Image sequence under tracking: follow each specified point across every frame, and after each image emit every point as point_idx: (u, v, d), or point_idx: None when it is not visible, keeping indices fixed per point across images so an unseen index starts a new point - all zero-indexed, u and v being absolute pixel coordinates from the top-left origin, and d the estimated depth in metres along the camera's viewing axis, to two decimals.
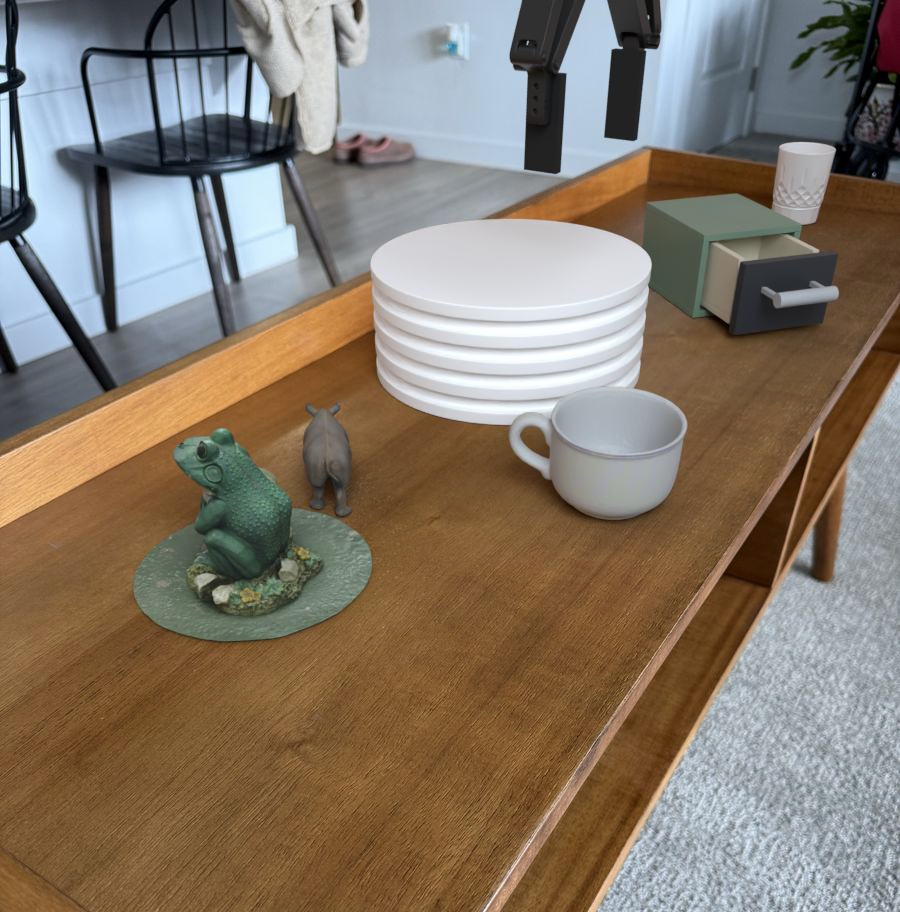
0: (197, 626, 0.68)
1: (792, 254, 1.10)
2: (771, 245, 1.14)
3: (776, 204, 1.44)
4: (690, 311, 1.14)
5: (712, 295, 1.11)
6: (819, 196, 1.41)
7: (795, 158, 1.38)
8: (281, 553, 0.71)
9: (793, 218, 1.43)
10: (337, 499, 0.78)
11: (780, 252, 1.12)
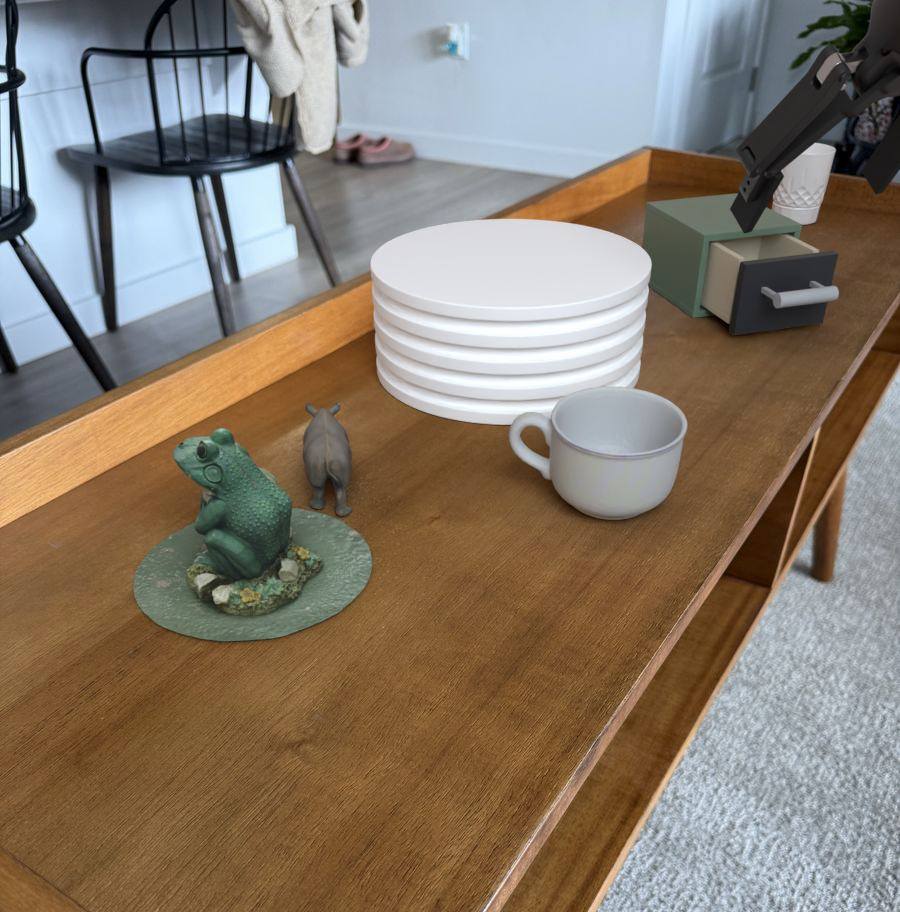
0: (197, 626, 0.68)
1: (792, 254, 1.10)
2: (771, 245, 1.14)
3: (776, 204, 1.44)
4: (690, 311, 1.14)
5: (712, 295, 1.11)
6: (819, 196, 1.41)
7: None
8: (281, 553, 0.71)
9: (793, 218, 1.43)
10: (337, 499, 0.78)
11: (780, 252, 1.12)
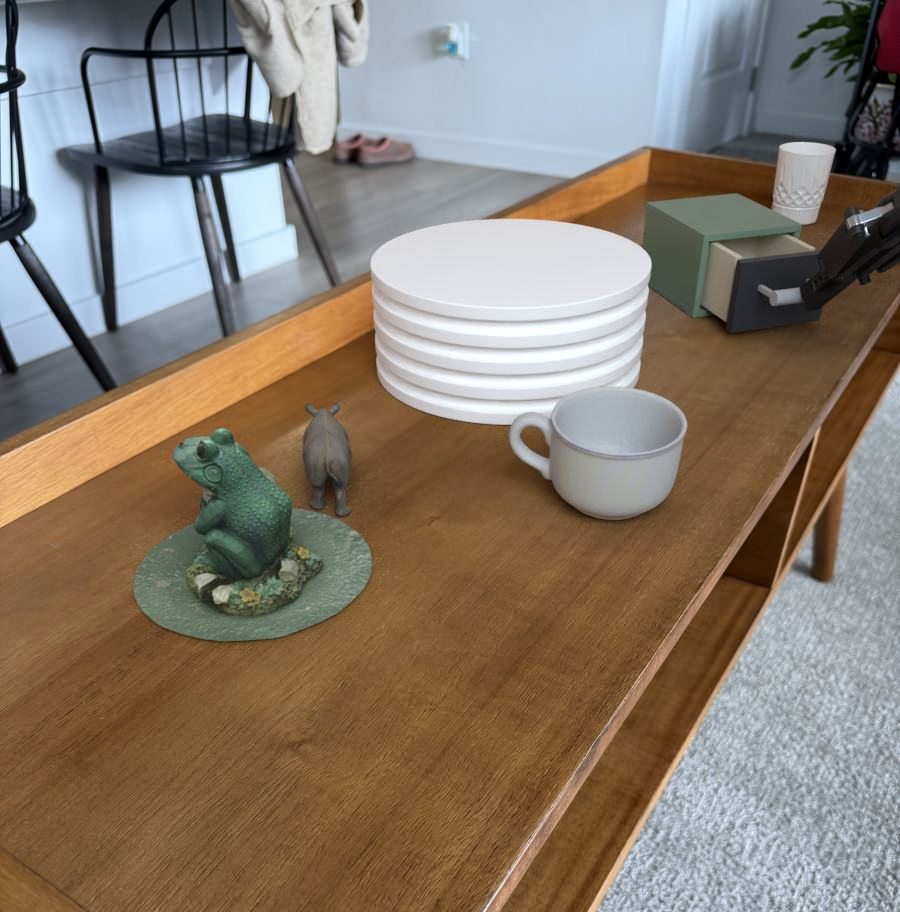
0: (197, 626, 0.68)
1: (788, 252, 1.11)
2: (768, 243, 1.14)
3: (776, 204, 1.44)
4: (690, 311, 1.14)
5: (709, 293, 1.12)
6: (819, 196, 1.41)
7: (795, 158, 1.38)
8: (281, 553, 0.71)
9: (793, 218, 1.43)
10: (337, 499, 0.78)
11: (777, 250, 1.13)
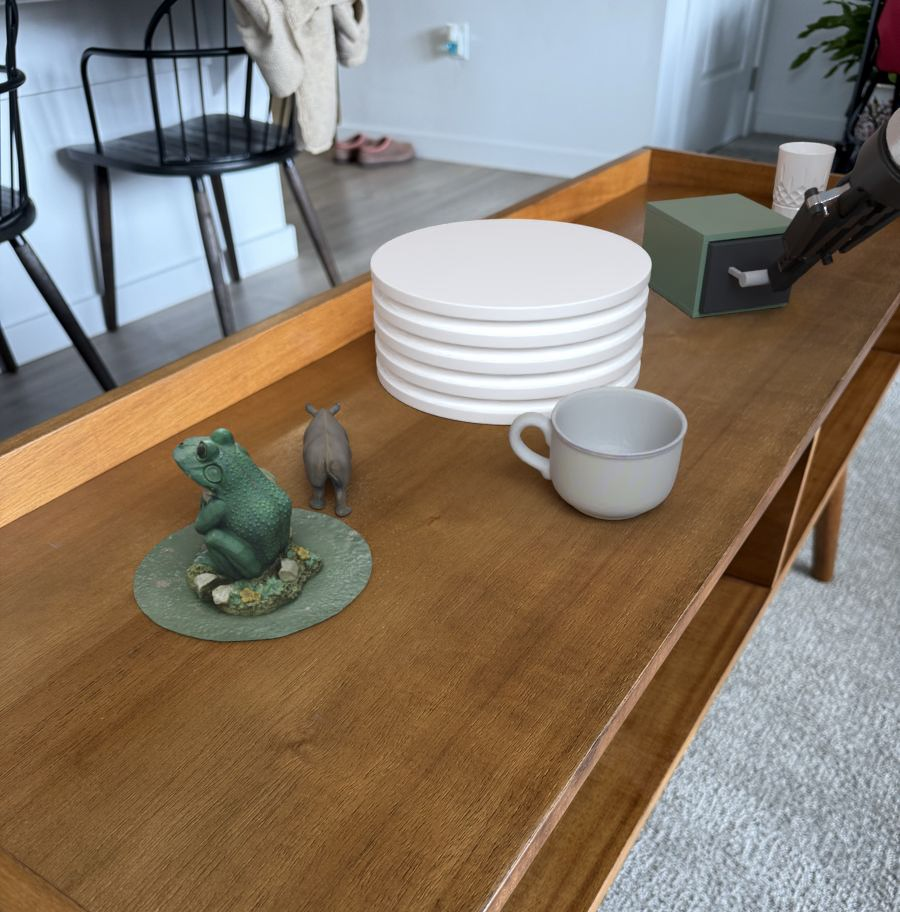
0: (197, 626, 0.68)
1: (759, 237, 1.16)
2: None
3: (776, 204, 1.44)
4: (690, 311, 1.14)
5: None
6: None
7: (795, 158, 1.38)
8: (281, 553, 0.71)
9: None
10: (337, 499, 0.78)
11: None
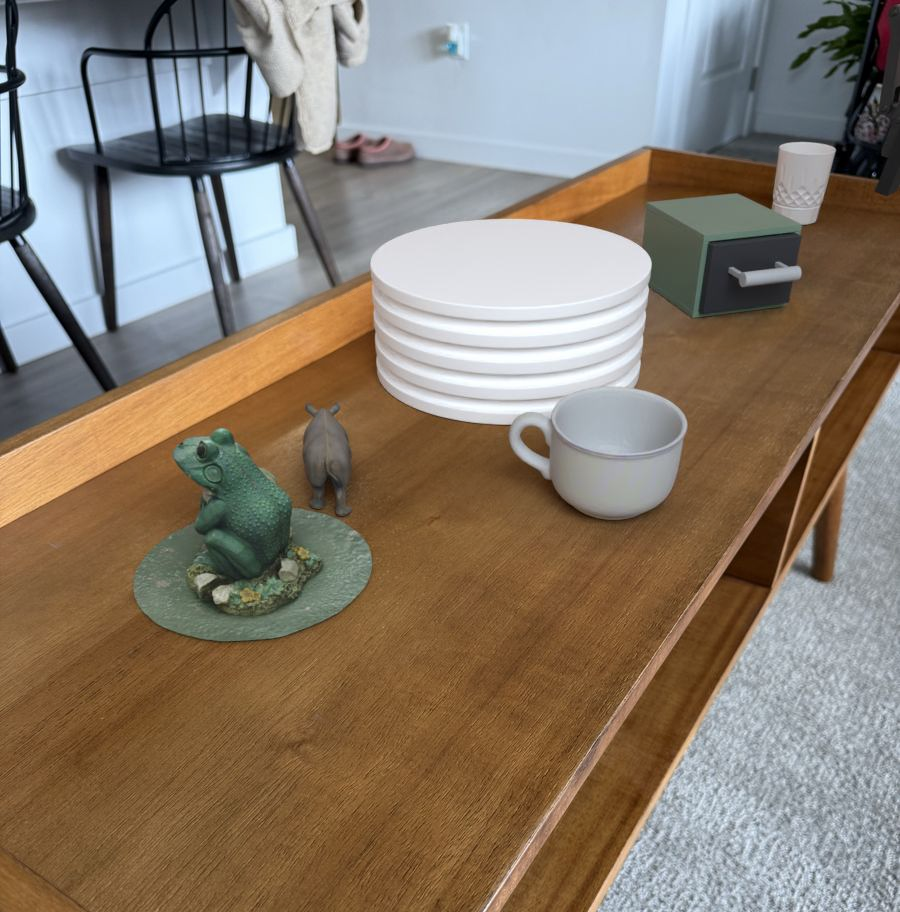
0: (197, 626, 0.68)
1: (759, 237, 1.16)
2: None
3: (776, 204, 1.44)
4: (690, 311, 1.14)
5: None
6: (819, 196, 1.41)
7: (795, 158, 1.38)
8: (281, 553, 0.71)
9: (793, 218, 1.43)
10: (337, 499, 0.78)
11: None
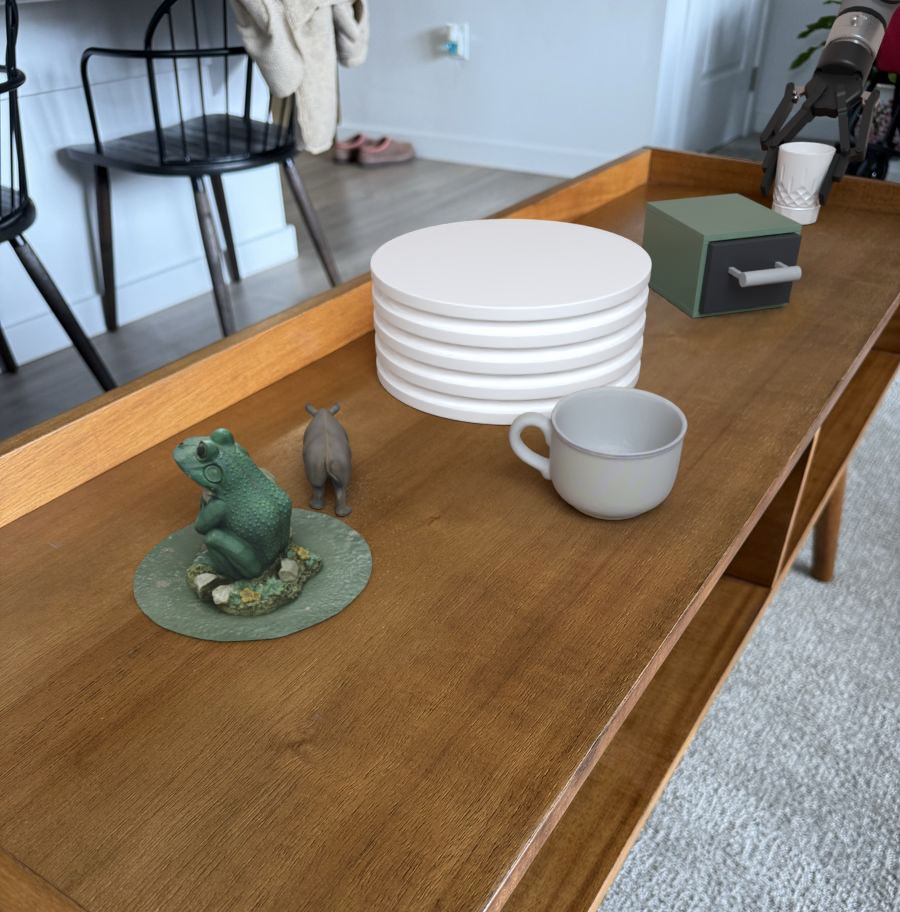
0: (197, 626, 0.68)
1: (759, 237, 1.16)
2: None
3: (776, 204, 1.44)
4: (690, 311, 1.14)
5: None
6: None
7: (795, 158, 1.38)
8: (281, 553, 0.71)
9: (793, 218, 1.43)
10: (337, 499, 0.78)
11: None
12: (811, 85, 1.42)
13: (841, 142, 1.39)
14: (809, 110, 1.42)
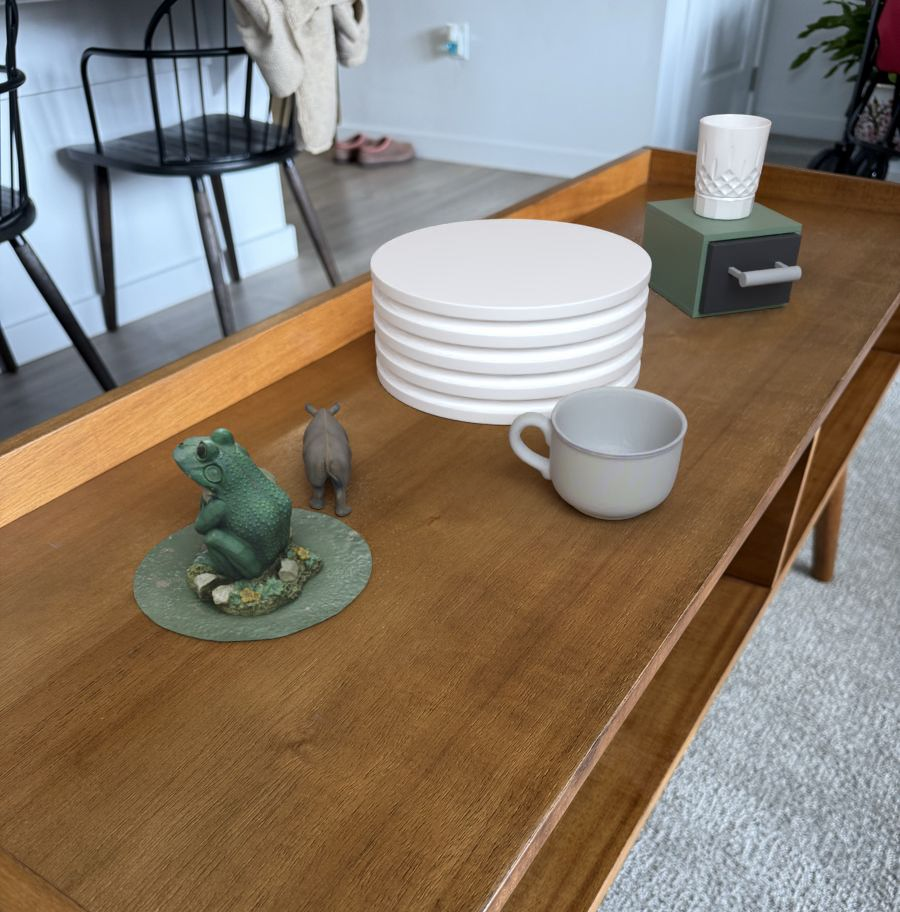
0: (197, 626, 0.68)
1: (759, 237, 1.16)
2: None
3: (698, 193, 1.13)
4: (690, 311, 1.14)
5: None
6: (752, 183, 1.10)
7: (718, 134, 1.07)
8: (281, 553, 0.71)
9: (719, 211, 1.12)
10: (337, 499, 0.78)
11: None
12: None
13: None
14: None
